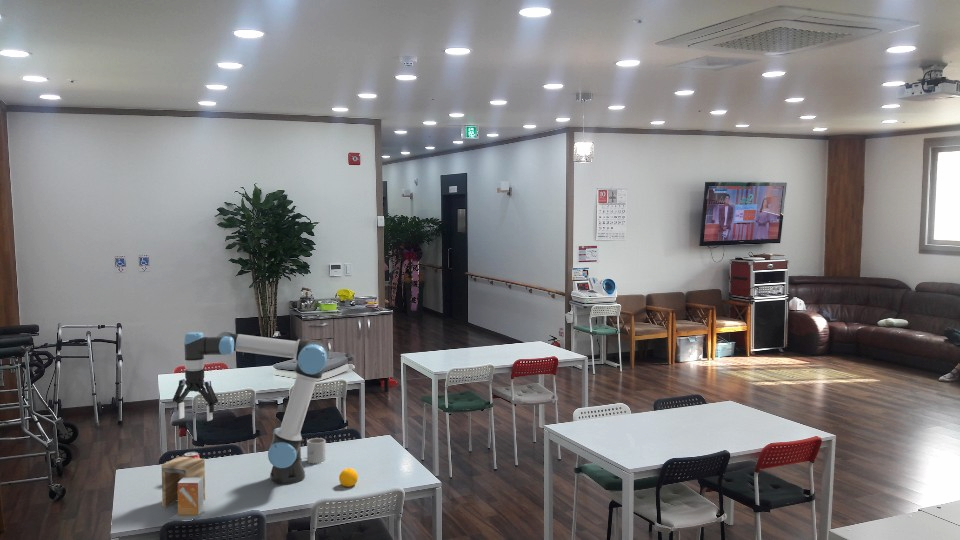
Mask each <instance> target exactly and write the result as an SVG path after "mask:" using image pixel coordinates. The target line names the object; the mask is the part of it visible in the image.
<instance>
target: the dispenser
mask: <svg viewBox="0 0 960 540" xmlns="http://www.w3.org/2000/svg"><path fill="white" fill-rule="evenodd" d="M205 467H206V466H205V458H190V457H184V456H177V457H175V458H173V459H171V460H169V461H166V462H164V463H162V464H161V489H162V491H161V493H162V494H161V495H162V496H161V498H162V507H163V508H167V507H168V506H170V505H173V504H174V503H175V502H178V482H179V481H180V480H181V479H182V478H191V477H196V478H202V477H203V496H204V501H206V480H205V479H206V477H205V476H206V475H205V472H206V470H205Z"/></svg>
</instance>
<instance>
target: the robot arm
mask: <svg viewBox="0 0 960 540" xmlns="http://www.w3.org/2000/svg"><path fill="white" fill-rule="evenodd" d="M183 346H184V369H185V370H184V375H185V376H184V377H185V378H183V379H180V380H178V386H177V389H176V391H175V394H174V396H173V398H172V402H176V407H177V408H176V409H177V411H178V419H179V420H180V419H184V418H185V402H184V400H185V398H186V397H187V395H189V394H190V392H195V393H198V394H200V395H201V396H202V398H203V399H204V400H205V402H206V404H207V405H206V421H207V422H209V421H212V420H213V418H214V417H213V413H214V412H215V405H216V404H217V403H219V400H218V398H217V395H216V393H215V391H214V389H213V386H212V381H211V380H207V381H205V379H204V378H205V369H204V368H205V356H209V355H212V356H215V355H218V356H221V355H222V356H225V355H226V356H228V355H231V354H233V353H234V352H240V353H241V352H242V353H249V354H257V355H265V356H271V357H272V356H274V357H280V358H281V357H282V358H290V359H294V360H295V361H296V362H297V363H296V366H295V369H294V373H295V375H296V378H295V381H294V383H293V385H292V386H293V387H292V390H291V392H290V396H289V400H288V401H287V405H286V409H285V410H284V411H285V412H284V415H283V419H282V422H281V424H280V427H277V428H274V429H273V434H272V435H273V437H272V440H271V441H272V442H271V444H270V447H269V449H268V452H267V459H268V461H269V463H270V464H271V465H272V468H271V470H270V474H269V480H270V482H271V483H274V484H278V485H287V484H288V483H290V484H294V482H295V483H299V482H301V481H303V480H304V479H305V478H306V472H305V468H304V466H303V463H302V460H301V459H302V454H301V453H302V452H301V450H302V449H301V448H302V447H301V443H302V440H303V437H302V433H301V431H302V428H303V425H304V421H305V418H306V415H307V412H308V408H309V405H310V402H311V400H312V396H313V393H314V391H315V390H314V389H315V387H316V383H317V382H318V381H320V380H321V379H322V377H323V374H324V370H325V368H326V365H327V362H328V358H329V349H328V347H327V345H326V344H324V343H323V342H322V341H319V340H311V339H302V338H301V339H300V338H298V339H297V340H290V339H279V338H273V337H265V336H256V335H249V334H241V333H234V332H232V331H230V330H229V331H228V330H226V331H222V332H221V333H219V334H218V335H217V336H205V335H204V332H201V331H190V332H186V333H185V335H184V343H183ZM185 385H186V387H185ZM184 387H185V388H184ZM183 390H184V391H183ZM302 479H303V480H302ZM298 481H299V482H298ZM288 485H289V484H288Z"/></svg>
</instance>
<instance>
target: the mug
mask: <svg viewBox="0 0 960 540" xmlns="http://www.w3.org/2000/svg"><path fill="white" fill-rule="evenodd" d="M306 443H307V444H306V446H307V448H306V449H307V450H306V452H307V453H306V455H307V457H306V459H307V461H308V462H309V463H308V462H307V461H306V462H307V463H308V464H310V463H320V464H322V463H321V462H324V461H325V460H327V459H326V458H327V457H326V455H327V454H326V453H327V452H326V451H327V450H326V448H327V447H326V439H324V438H321V437H320V438H319V437H315V438H314V437H313V438H310V439H307V440H306ZM325 462H326V461H325ZM325 462H324V463H325Z"/></svg>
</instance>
